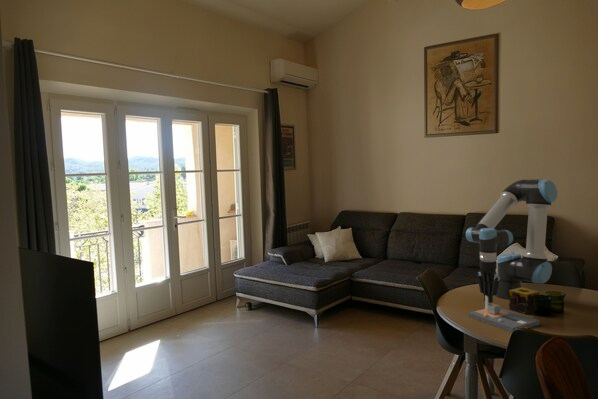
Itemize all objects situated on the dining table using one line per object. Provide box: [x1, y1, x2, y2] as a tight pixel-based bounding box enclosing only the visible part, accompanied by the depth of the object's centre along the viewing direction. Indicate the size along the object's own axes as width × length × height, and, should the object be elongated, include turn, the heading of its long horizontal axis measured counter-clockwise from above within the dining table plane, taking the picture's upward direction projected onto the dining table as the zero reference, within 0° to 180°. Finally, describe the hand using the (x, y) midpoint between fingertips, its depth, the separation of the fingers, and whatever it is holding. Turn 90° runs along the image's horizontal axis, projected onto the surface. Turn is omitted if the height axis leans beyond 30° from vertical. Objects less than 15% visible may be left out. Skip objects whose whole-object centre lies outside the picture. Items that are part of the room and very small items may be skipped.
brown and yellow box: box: [508, 286, 540, 315], centre depth 211 cm, size 10×10×10 cm
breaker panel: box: [468, 307, 541, 333], centre depth 198 cm, size 24×18×3 cm
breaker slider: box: [487, 302, 501, 314], centre depth 203 cm, size 4×4×4 cm
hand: (488, 308), depth 205 cm, fingers closed
